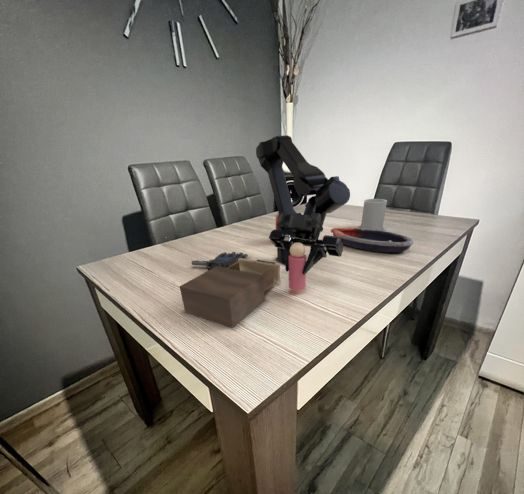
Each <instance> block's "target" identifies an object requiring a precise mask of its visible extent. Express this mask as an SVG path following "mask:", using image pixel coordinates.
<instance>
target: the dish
mask: <svg viewBox="0 0 524 494" xmlns="http://www.w3.org/2000/svg"><path fill="white" fill-rule="evenodd" d="M330 233H332V236H339V237H340V239H341V241H342V244H343V245H345V246H347V247H350V248H355V249H359V250H366V251H370V252H378V253H403V252H406V251H407V250H409V249H410V248H411V246H413V244H414V240H413V238H411V237H409V236H406V235H403V234H400V233H395V232H391V231H386V230H373V229H364V228H361V227H334V228H331V229H330Z"/></svg>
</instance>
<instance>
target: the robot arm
mask: <svg viewBox="0 0 524 494" xmlns="http://www.w3.org/2000/svg"><path fill="white" fill-rule="evenodd" d="M255 155H256V158H257V159H258V162H259V165H260V167H261V168H262V169H263V170H264V171H265V172H266V173H267V175H268V179H269V183H270V186H271V190H272V193H273V197H274V201H275V205H276V208H277V212H279V219H278V222H277V230H276V229H273V230H271V231H270V233H269V235H268V239H269V241H271V243H272V244H273V245H274V247H275V248H276V257H275V260H276V261H278V262H280V263H282V264H284V266H285V267H284V268H285V272H287V273H289V255H291V254H290V247H291V246H292V245H293V244H294V243H301V244H303V245H304V247H309V253H308V256H307V257H306V263H305V266H304V269H303V275H305V274H306V275H307V274H308V272H309V271H310V270H311V269H312V268H313V267H314V266H315V265H316V264H317V263H318V262H320V261H321V260H322V259H324V258H327V257H328V256H331V257H337V258H339V257H342V255H343V252H344V244H343V243H342V241H341V239H340V237H339V236H333V235H329V234H324V235H323V238H322V239H319V237H320V235H321V233H323V231H324V222H325V221H326V216H327V214H331V213H333V212H335V211H336V210H338V209H339V208H341V207H343V206H344V205H346V204H347V203H348V202H349V201H350V198H351V191H350V188H349V187H348V185H347V184H346V183H345V182H343V181H341V180H340V176H338V175H336V176H330V177H329V178H328V177H326V175H325V172H323V171H322V170H321V169H320V168H319V167H318V166H315V165H313V164H310V163H309V162H308V161H307V160H306V158H305V157H304V155H303V154H302V153H301V151H300V150H299V149H298V148H297V146H296V144H294V142H293V138H292V137H291V136H290V135H276V136H273V137H272V138H271V139H268V140H265V141H260V142H259V143H258V145H257V146H256V148H255ZM283 164H284V165H285V166H286V168H287V169H288V171H289V172H290V173H291V175H292V177H293V181H292V185H293V187H294V189H295V191H296V193H297V195H298V196H299V197H307V196H308V197H309V196H311V197H309V198H308V200H307V202H306V204H305V208H304V212H303V214H302V213H301V212H297V211H296V210H295V209H294V206H293V202H292V198H291V194H290V190H289V187H288V183H287V180H286V175H285V172H284V167H283V166H284V165H283ZM327 254H328V255H327Z"/></svg>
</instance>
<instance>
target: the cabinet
mask: <svg viewBox="0 0 524 494" xmlns="http://www.w3.org/2000/svg"><path fill="white" fill-rule="evenodd" d="M179 291H180V295H181V300H182V304H183V308H184V312H185V313H186V314H189V315H192V316H196V317H199V318H201V319H204V320H207V321H210V322H214V323H217V324H219V325H222V326H225V327H228V328H231V329H234V328H235V327H236V326H237V325H238V324H240V323H241V322H242V321H243V320H244V319H245V318H246V317H248V316H249V315H250V314H251V313H252V312H253V311H255V310H256V309H257V308H258V307H260V306H261V304H263V303H264V302H265V300H266V299H265V292H264V280H263V275H258V274H254V273H249V272H244V271H239V270H234V269H229V268H227V267H225V268H224V267H219V266H216V267H214V268H213V269H211V268H210V270H209V271H208V270H207V271H205V272H204V273H201V274H199V275H198V276H196V277H194V278H192V279H190V280H189V281H186V282H185V283H183V284H181V285H180V286H179Z"/></svg>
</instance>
